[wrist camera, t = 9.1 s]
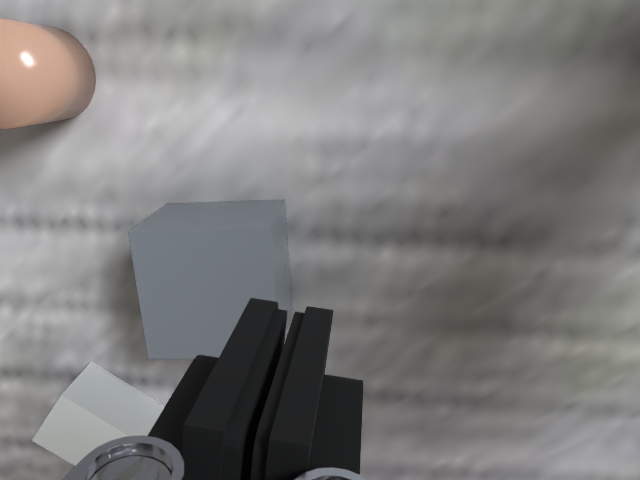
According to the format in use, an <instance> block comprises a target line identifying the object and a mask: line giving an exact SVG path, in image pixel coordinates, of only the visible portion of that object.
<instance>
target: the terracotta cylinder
mask: <svg viewBox="0 0 640 480" xmlns="http://www.w3.org/2000/svg"><path fill="white" fill-rule="evenodd" d="M95 85H96V76H95V69H94V65H93V62H92V60H91V58H90V55H89V54H88V52H87V50H86V49H85V48H84V46H83V45H82V44H81V43H80V42H79V41H78V40H77V39H76V38H75V37H74V36H72V35H71V34H69V33H68V32H66V31H64V30H62V29H59V28H56V27H51V26H45V25H39V24H32V23H26V22H20V21H14V20H7V19H1V18H0V129H10V128H17V127H23V126H29V125H35V124H41V123H48V122H54V121H60V120H66V119H70V118H72V117H75V116H77V115H78V114H80V113H81V112H82V111H83V110H84V109H85V108H86V107H87V106H88V105H89V103H90V101H91V99H92V97H93V94H94V91H95Z"/></svg>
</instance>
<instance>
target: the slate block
mask: <svg viewBox="0 0 640 480" xmlns="http://www.w3.org/2000/svg"><path fill="white" fill-rule="evenodd" d="M128 236H129V242H130V249H131V255H132V261H133V267H134V274H135V280H136V286H137V292H138V299H139V305H140V311H141V317H142V324H143V330H144V336H145V343H146V349H147V355H148V360H155V359H195V357H196V356H197V355H206V356H212V357H220V355H221V353H222V351H223V349H224V347H225V345H226V343H227V341H228V340H229V338H230V336H231V334H232V332H233V330H234V328H235V326H236V324H237V323H238V321H239V319H240V317H241V315H242V313H243V311H244V309H245V307H246V305H247V304H248V302H249V300H250V298H256V299H263V300H269V301H276V302H278V309H281V310H287V322H286V331H285V338H286V333H287V329H288V325H289V321H290V317H291V313H292V298H291V283H290V268H289V253H288V238H287V223H286V208H285V200H255V201H226V202H197V203H167V204H166V205H164V206H163V207H162V208H160V209H159V210H157V211H156V212H155V213H153V214H152V215H150V216H149V217H148V218H146V219H145V220H143V221H142V222H141V223H139V224H138V225H136V226H135V227H134V228H132V229H131V230H129V231H128ZM284 342H285V340H284Z"/></svg>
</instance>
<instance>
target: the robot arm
mask: <svg viewBox="0 0 640 480" xmlns="http://www.w3.org/2000/svg"><path fill="white" fill-rule="evenodd" d="M332 317H333V310H328V309H321V308H315V307H308V306H307V307H306V310H305V313H300V312H295V313H294V317H293V320H292V323H291V326H290V329H289V332H288V335H287V338H286V341H285V344H284V340H285V331H286V322H287V310H281V309H278V302H276V301H269V300H263V299H256V298H250V300H249V302H248V304H247V305H246V307H245V309H244V311H243V313H242V315H241V317H240V319H239V321H238V323H237V324H236V326H235V328H234V330H233V332H232V334H231V336H230V338H229V340H228V341H227V343H226V345H225V347H224V349H223V351H222V353H221V355H220V357H212V356H206V355H197V356H196V357H195V359H194V360H193V362H192V363H191V365H190V366H189V368H188V370H187V371H186V373H185V375H184V376H183V378H182V380H181V381H180V383H179V384H178V386H177V388H176V389H175V391H174V393H173V394H172V396H171V398H170V399H169V401H168V403H167V404H166V406H165V407H164V409H163V411H162V412H161V414H160V416H159V417H158V419H157V421H156V422H155V424H154V426H153V427H152V429H151V430H150V432H149V434H148V435H147V436H144V435H141V436H126V437H122V438H118V439H114V440H111V441H109V442H107V443H105V444H102V445H100V446H98V447H96V448H95V449H94V450H92V451H91V452H90V453H89V454H87V455H86V456H85V457H84V458H83V459H82V460H81V461H80V462H79V463H78V464H77V465H76V466H75V467H74V468H73V469H72V470H71V471H70V472H69V473H68V474H67V475H66V476H65V477H64V478H63V479H62V480H367V479H366V478H364V477H363V476H361V475H360V451H361V426H362V401H363V381H362V380H356V379H350V378H344V377H337V376H331V375H325V367H326V360H327V352H328V345H329V338H330V331H331V324H332Z"/></svg>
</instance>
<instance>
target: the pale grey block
mask: <svg viewBox="0 0 640 480" xmlns="http://www.w3.org/2000/svg"><path fill="white" fill-rule="evenodd" d="M164 407H165V406H163V405H161V404H160V403H158V402H157V401H155V400H153V399H152V398H150V397H148V396H147V395H145V394H143V393H142V392H140V391H139V390H137V389H135V388H134V387H132V386H130V385H129V384H127V383H126V382H124V381H122V380H121V379H119V378H117V377H116V376H114V375H112V374H111V373H109V372H108V371H106V370H104V369H103V368H101V367H99V366H98V365H96V364H95V363H93V362H90V363H89V364H88V366H87V367H86V368H85V369H84V370H83V371H82V372H81V373H80V375H79V376H78V377H77V378H76V379H75V380H74V381H73V382H72V383H71V385H70V386H69V387H68V388H67V389H66V390H65V391H64V392H63V393H62V395H61V396H60V397H59V399H58V400H57V402H56V404H55V405H54V407H53V408H52V410H51V411H50V413H49V414H48V416H47V417H46V419H45V421H44V422H43V424H42V425H41V427H40V428H39V430H38V431H37V433H36V434H35V436H34V438H33V439H32V441H33V442H35V443H36V444H38V445H40V446H42V447H43V448H45V449H47V450H48V451H50V452H52V453H54V454H55V455H57V456H59V457H60V458H62V459H64V460H66V461H67V462H69V463H71V464H72V465H74V466H76V465H77V464H78V463H79V462H80V461H81V460H82V459H83V458H84V457H85V456H86V455H87V454H89V453H90V452H91V451H92V450H94V449H95V448H96V447H98V446H100V445H102V444H105V443H107V442H109V441H111V440H114V439H118V438H122V437H126V436H141V435H144V436H147V435H148V434H149V432H150V430H151V429H152V427H153V426H154V424H155V422H156V421H157V419H158V417H159V416H160V414H161V412H162V411H163V409H164Z"/></svg>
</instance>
